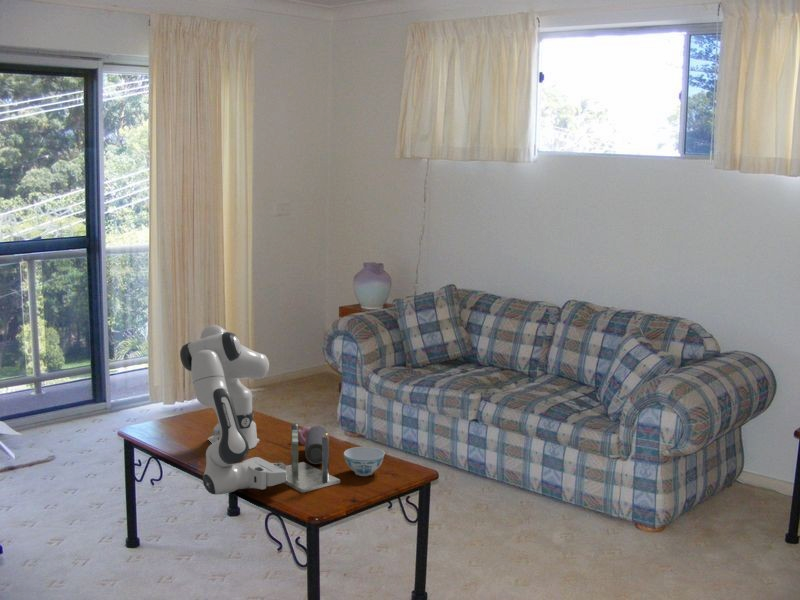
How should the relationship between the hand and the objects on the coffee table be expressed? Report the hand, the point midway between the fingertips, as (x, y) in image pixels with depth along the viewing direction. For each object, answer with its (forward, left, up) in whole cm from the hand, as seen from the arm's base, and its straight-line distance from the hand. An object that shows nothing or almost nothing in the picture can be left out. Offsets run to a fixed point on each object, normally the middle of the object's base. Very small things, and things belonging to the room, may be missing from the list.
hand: (283, 465), depth 306 cm
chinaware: (+8, +30, -7) cm, 32 cm away
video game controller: (-37, +34, -7) cm, 51 cm away
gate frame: (-1, +9, -7) cm, 11 cm away
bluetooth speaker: (-17, +26, -7) cm, 32 cm away
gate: (-3, +7, -5) cm, 9 cm away
